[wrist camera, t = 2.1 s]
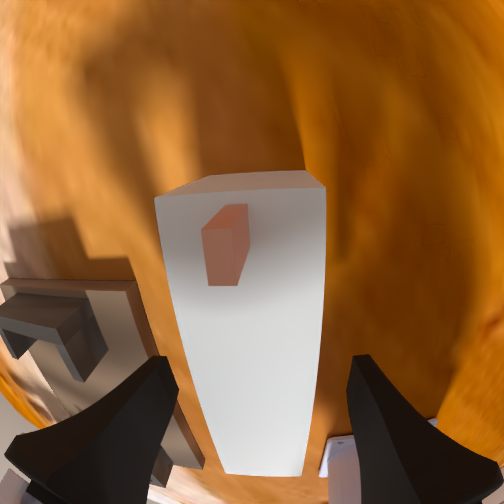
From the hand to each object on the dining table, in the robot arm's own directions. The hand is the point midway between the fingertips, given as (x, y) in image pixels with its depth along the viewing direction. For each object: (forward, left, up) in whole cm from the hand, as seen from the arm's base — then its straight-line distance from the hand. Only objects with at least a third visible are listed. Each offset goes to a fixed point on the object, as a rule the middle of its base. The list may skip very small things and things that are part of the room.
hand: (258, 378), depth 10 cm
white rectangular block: (0, 0, -4) cm, 4 cm away
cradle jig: (+13, +7, -4) cm, 15 cm away
